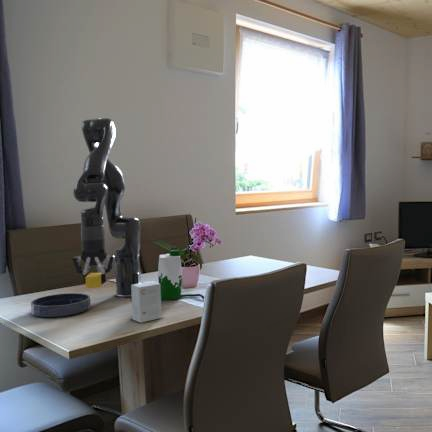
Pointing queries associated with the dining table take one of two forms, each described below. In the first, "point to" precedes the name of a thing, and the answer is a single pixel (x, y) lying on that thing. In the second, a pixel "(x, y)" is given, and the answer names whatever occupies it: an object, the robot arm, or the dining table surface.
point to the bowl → (60, 305)
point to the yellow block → (93, 280)
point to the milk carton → (170, 275)
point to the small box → (146, 301)
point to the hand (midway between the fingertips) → (95, 283)
